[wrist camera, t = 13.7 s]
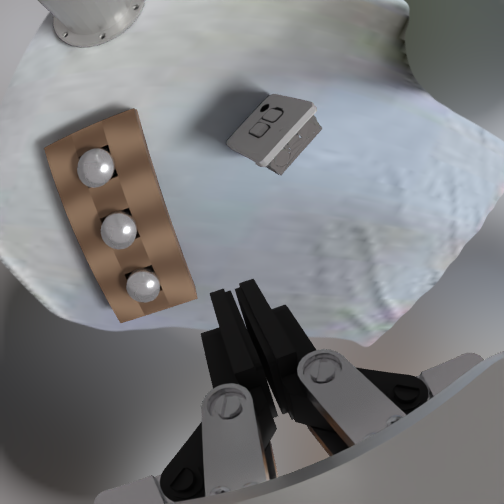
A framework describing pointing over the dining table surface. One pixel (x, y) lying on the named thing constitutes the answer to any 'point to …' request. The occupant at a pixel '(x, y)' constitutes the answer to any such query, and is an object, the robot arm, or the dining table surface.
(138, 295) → the knob far
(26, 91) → the dining table surface
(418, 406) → the robot arm
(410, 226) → the dining table surface
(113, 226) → the knob mid
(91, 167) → the knob near
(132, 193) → the knob mount
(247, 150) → the electrical switch
